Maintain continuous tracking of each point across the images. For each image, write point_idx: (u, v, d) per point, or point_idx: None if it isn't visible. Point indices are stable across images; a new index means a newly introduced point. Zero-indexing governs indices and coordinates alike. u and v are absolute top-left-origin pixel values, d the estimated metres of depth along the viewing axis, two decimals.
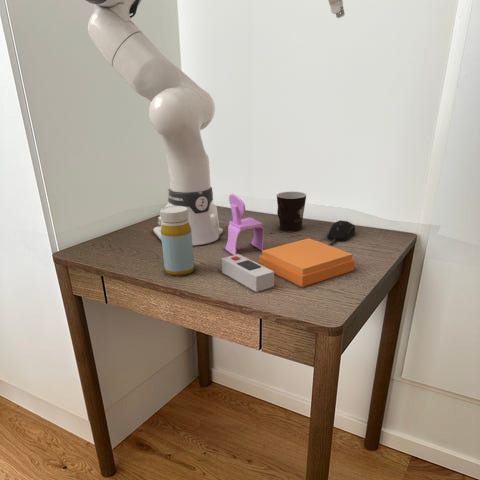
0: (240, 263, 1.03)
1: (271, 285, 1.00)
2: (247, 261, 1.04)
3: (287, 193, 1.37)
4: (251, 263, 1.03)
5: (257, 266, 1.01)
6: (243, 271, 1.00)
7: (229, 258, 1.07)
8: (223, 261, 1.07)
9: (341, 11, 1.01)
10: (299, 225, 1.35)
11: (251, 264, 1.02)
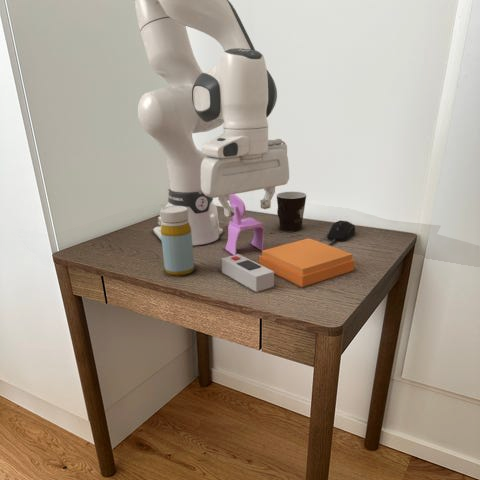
0: (240, 263, 1.03)
1: (271, 285, 1.00)
2: (247, 261, 1.04)
3: (287, 193, 1.37)
4: (251, 263, 1.03)
5: (257, 266, 1.01)
6: (243, 271, 1.00)
7: (229, 258, 1.07)
8: (223, 261, 1.07)
9: (264, 204, 0.99)
10: (299, 225, 1.35)
11: (251, 264, 1.02)
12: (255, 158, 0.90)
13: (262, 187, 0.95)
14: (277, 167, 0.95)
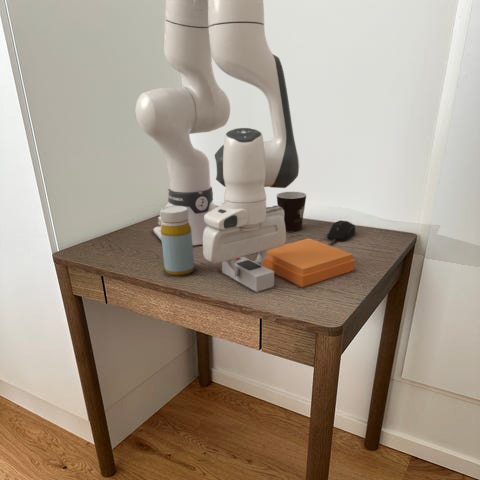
0: (240, 263, 1.03)
1: (271, 285, 1.00)
2: (247, 261, 1.04)
3: (287, 193, 1.37)
4: (251, 263, 1.03)
5: (257, 266, 1.01)
6: (243, 271, 1.00)
7: None
8: None
9: None
10: (299, 225, 1.35)
11: (251, 264, 1.02)
12: (253, 226, 0.96)
13: (260, 250, 1.01)
14: (274, 232, 1.02)
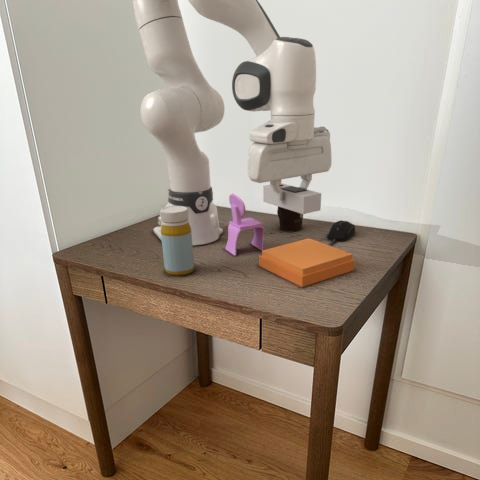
0: (284, 188, 0.99)
1: (318, 208, 0.96)
2: (291, 186, 1.00)
3: None
4: (296, 188, 0.99)
5: (303, 189, 0.97)
6: (288, 194, 0.96)
7: None
8: (265, 188, 1.03)
9: None
10: (299, 225, 1.35)
11: (296, 188, 0.98)
12: (301, 144, 0.92)
13: (306, 173, 0.97)
14: (320, 154, 0.98)
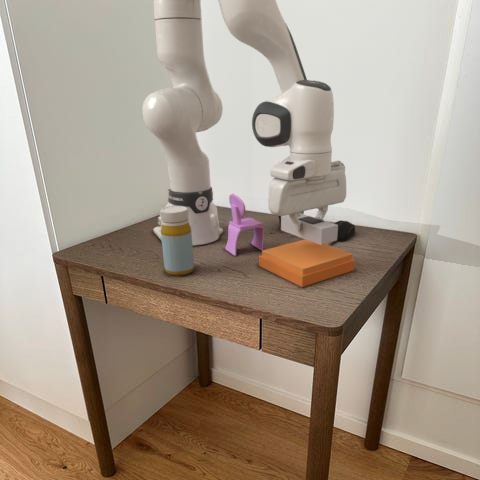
0: (302, 218, 1.04)
1: (334, 239, 1.01)
2: (308, 217, 1.05)
3: None
4: (313, 218, 1.04)
5: (320, 220, 1.02)
6: (306, 225, 1.01)
7: None
8: (283, 218, 1.08)
9: None
10: None
11: (313, 219, 1.03)
12: (318, 179, 0.97)
13: (322, 205, 1.02)
14: (336, 187, 1.03)
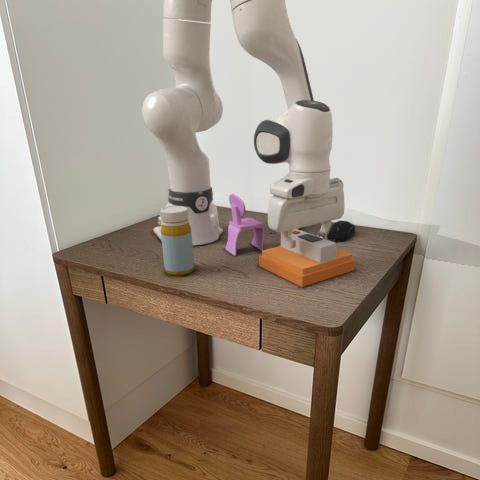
0: (301, 236, 1.06)
1: (333, 257, 1.03)
2: (307, 234, 1.07)
3: None
4: (312, 236, 1.06)
5: (319, 238, 1.04)
6: (306, 243, 1.03)
7: None
8: None
9: (321, 236, 1.08)
10: None
11: (312, 237, 1.05)
12: (317, 197, 0.99)
13: (321, 221, 1.04)
14: (334, 203, 1.04)
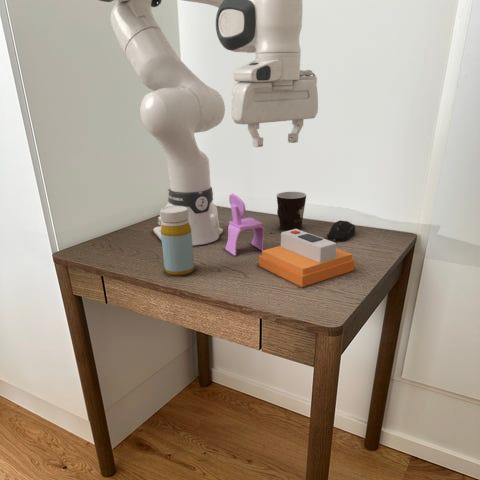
0: (301, 236, 1.06)
1: (333, 257, 1.03)
2: (307, 234, 1.07)
3: (287, 193, 1.37)
4: (312, 236, 1.06)
5: (319, 238, 1.04)
6: (306, 243, 1.03)
7: (288, 232, 1.10)
8: (283, 235, 1.10)
9: (292, 137, 0.99)
10: (299, 225, 1.35)
11: (312, 237, 1.05)
12: (286, 85, 0.90)
13: (291, 118, 0.95)
14: (306, 99, 0.95)
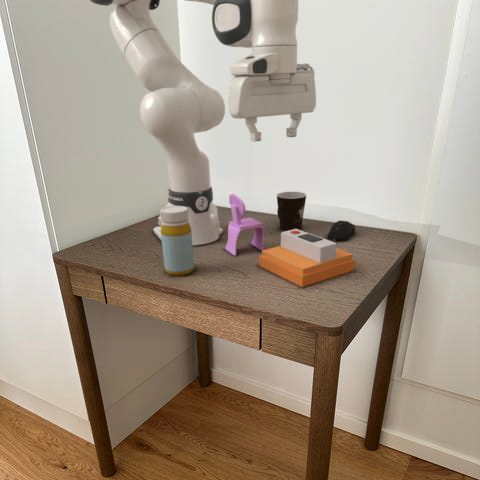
0: (301, 236, 1.06)
1: (333, 257, 1.03)
2: (307, 234, 1.07)
3: (287, 193, 1.37)
4: (312, 236, 1.06)
5: (319, 238, 1.04)
6: (306, 243, 1.03)
7: (288, 232, 1.10)
8: (283, 235, 1.10)
9: (290, 132, 0.98)
10: (299, 225, 1.35)
11: (312, 237, 1.05)
12: (283, 78, 0.89)
13: (289, 112, 0.94)
14: (304, 92, 0.94)
